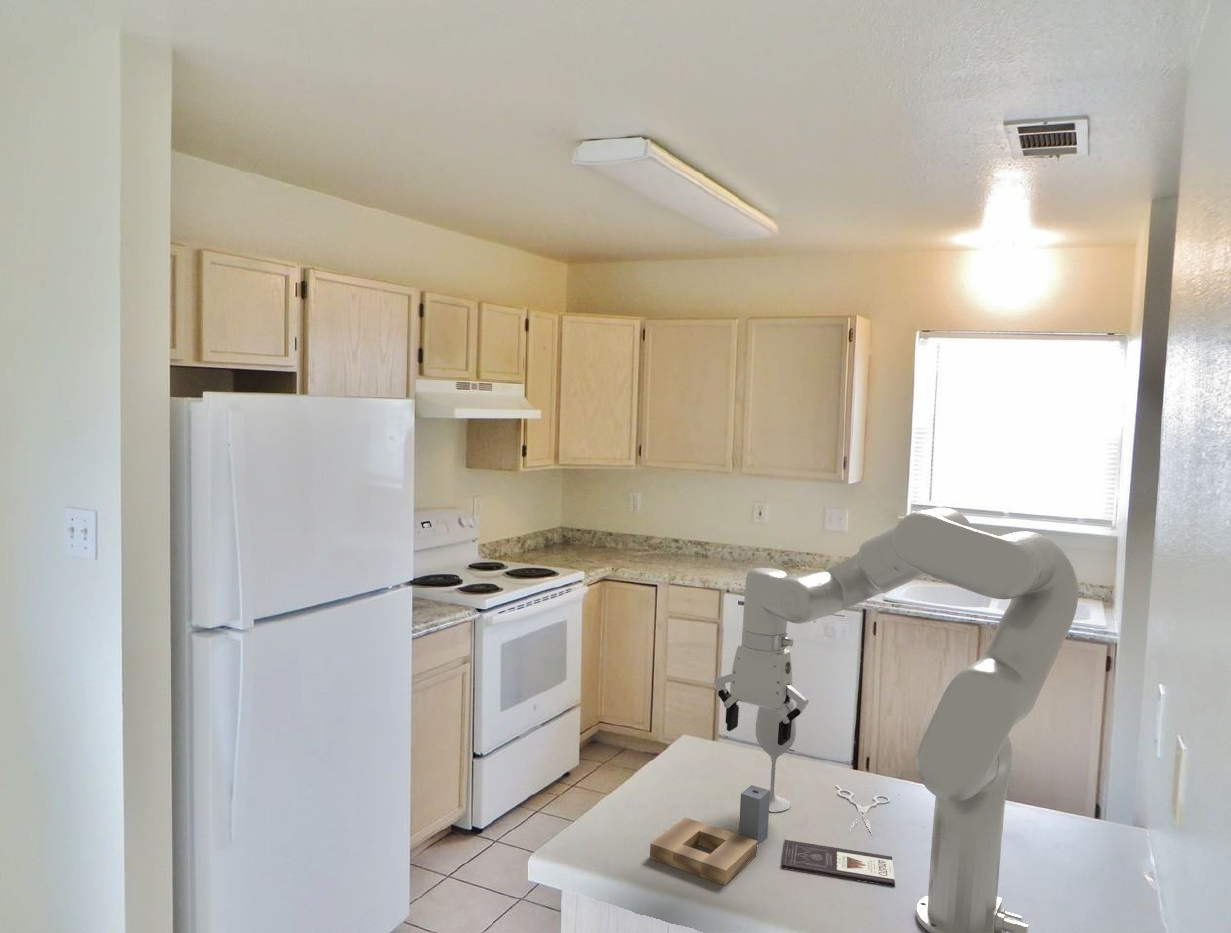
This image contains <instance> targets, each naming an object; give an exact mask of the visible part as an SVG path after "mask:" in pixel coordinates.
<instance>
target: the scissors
mask: <svg viewBox="0 0 1231 933" xmlns="http://www.w3.org/2000/svg"><path fill="white" fill-rule="evenodd" d="M834 787H835V788H836V789H837V791H836V794H837V796H839V798H843V799H845V800H847V801H848V802H849V803H851V804H853V805H854V806H856V809H858V810H857V812H858V813H859V812H861V813H862V814H864V815H865V814H868V812H869V811H870V809H871V808H875V807H877V805H886V804H889V803H891V799H890V797H888V796H887V795H883V794H878V795H875V796H873V797H872V800H873V801H874V803H872V804H870V805H864V806H862V805H860V804H858V803H857V802H855V801H854V800H853V799H852V798H854V797H855V794H854V793H853V792H852V791H850V790H848V789H843V788H841V787H840V786H839V784H834ZM843 792H844V793H847V794H849V795H844V794H842V793H843ZM879 798H884V799H886V801H881V800H880V801H879V800H878V799H879ZM867 811H868V812H867ZM864 815H863V816H864ZM861 819H862V818H861ZM856 820H857V819H856ZM861 821H863V819H862V820H861ZM864 821H865V820H864ZM864 821H863V822H864ZM867 821H868V822H867ZM866 822H867V823H866ZM866 822H865V823H866V825H865V826H867V827H868V828H867V827H866V828H867V830H868V829H869V830H868V831H870V830H871V825H870V820H869V818H868V819H867V820H866ZM854 823H855V822H854V821H853V822H852V824H853V825H852V824H851V827H850V828H849V831H850V830H851V828H852V826H853V827H854ZM856 823H857V822H856ZM865 823H864V824H865ZM854 828H855V827H854ZM851 831H852V830H851ZM870 832H871V833H870ZM870 832H869V833H870V834H871V835H870V836H873V833H872V830H871V831H870Z"/></svg>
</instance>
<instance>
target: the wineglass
mask: <svg viewBox="0 0 1231 933" xmlns="http://www.w3.org/2000/svg"><path fill="white" fill-rule="evenodd" d="M788 705H789V706H790V708H791V710H792V711H793V710H794V709H795V701H794V700H793V699H792V700H791V702H790V703H789V704H788ZM755 721H756V722H755V738H756V741H757V743H758V744H759V745H760V747H761V749H762V750H763V751H765V753H766V754H767V755H768V756H769V757H770V760H771V770H770V771H771V772H770V789H769V790H770V802H769V809H770V810H775V811H778V810H779V811H781V810H785V809H788V810H790V809H791V802H790V801H789V800H788V799H786V798H785V797H781V796H779V795H776V794H775V780H776V778H775V777H776V765H777V764H776V762H777V761H778V760H777V759H778V757H780V756H782V755H783V754H784V753H785V754H786V752H787V751H788V750H789V749H790V748H791V747H792V746H793V745H794V742H795V740H796V736H797V723H796V722H797V721H796V718H794V719H793V720H792V726H791V737H790V739H789V740H788V741H787V742H786V743H785V744H783V745H782V746H781V745H779V744H778V730H779V723H780V722H781V721H782V719H781V718H780V716H779V715H778V713H777V711H776V710H773V709H768V708H764V707H760V706H758V709H757V714H756V720H755ZM789 808H790V809H789Z"/></svg>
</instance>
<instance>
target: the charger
mask: <svg viewBox="0 0 1231 933" xmlns="http://www.w3.org/2000/svg"><path fill="white" fill-rule="evenodd" d="M739 801H740V802H739V804H740V805H739V819H738V820H739V821H738V835H741V836H744V837H747V838H750V839H753V840H756V841H758V844H757V845H759V844H760V843H761V844H762V843H763V842H764V841H765V840H766V839H768V834H769V816H770V812H769V802H770V789H766V788H762V787H759V786H755V785H753V784H750V786H748V787H747V788H746V789H745V790H743V791H742V792H741V793H740V800H739ZM759 846H760V845H759Z"/></svg>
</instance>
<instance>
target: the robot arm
mask: <svg viewBox="0 0 1231 933" xmlns="http://www.w3.org/2000/svg"><path fill="white" fill-rule="evenodd" d="M858 549H859V550H858V552H857V553H855V554H854V555H853V556H850V557H849V558H846V559H845V560H843V561H841V562H839V563H836V564H834V565H832V566H830V567H828V568H826V569H824V570H821V571H818V572H813V573H810V574H805V575H802V576H794V577H790V576H789V575H788V573H786V571H784V570H781V569H777V568H771V567H756V568H752V569H750V570H749V571H748V572H747V573H746V577H745V588H744V600H743V601H744V604H743V617H742V618H743V619H742V629H741V630H742V632H741V633H742V634H741V642H740V643H738V645H737V648H736V652H735V655H734V658H733V662H732V663H733V665H732V669H731V673H729V674H726V675H723V676H722V675H721V676H720V677H718V678H715V679H714V686H715V688H716V690H717V694H718V696H719V698H720V699H721V701H722V702H723V707H724V709H726V710H725V724H726V731H727V732H733V730H735V729H736V728H737V727H738V726H739V711H740V707H739V704H737V703H738V702H742V703H745V704H750V705H753V706H757V707H759V706H760V707H764V708H768V709H773V710H776V711H777V713H778V715H779V716H780V718H781V719H782V721H781V722H780V723H779V730H778V744H779V745H781V746H782V745H783V744H785V743H786V742H787V741H788V740H789V739H790V737H791V726H792V720H793V719H794V718H795V719H796V718H797V717H799V716H800V715H801V714H802V713H803V712H804V710H805V709H806V707H807V706H808V704H809V699H808V698H807V697H806V696H804V695H803V694H802V693H800V692H799V690H797V689H796V688H795V687H793V666H792V658H791V657H792V656H791V651H790V650H789V649H786V648H788V647H790V648H792V647H793V646H794V645H793V644H794V639H793V638H789V637H788V632H787V629H788V627H787V626H788V623H789V622H790V623H793V624H796V625H797V624H798V625H799V624H800V625H803V624H807V623H810V622H813V621H815V620H816V621H817V620H818V619H822V618H825V617H828V616H832V615H835V614H838V613H839V612H841V611H844V610H846V609H849V608H850V607H853V606H855V605H857V604H860V603H863V602H865V601H867V600H870V599H872V598H873V597H876V596H877V595H881V594H886V593H888V592H890V591H892V590H895V589H897V588H899V587H902V586H904V585H906V584H908V583H910V582H913V581H914V580H918V579H920V578H922V577H924V576H929V577H932V578H934V579H937V580H940V581H942V582H945V583H948V584H951V585H953V586H956V587H959V588H962V589H965V590H966V591H969V592H973V593H975V594H978V595H981V596H984V597H987V598H990V599H996V600H1010V602H1009V604H1008V606H1007V608H1006V610H1005V611H1004V613H1003V615H1002V617H1001V618H1000V620H999V622H998V623H997V626H996V628H995V631H994V634H992V637H991V639H990V641H989V643H988V645H987V647H986V649H985V650H984V652H983V653H982V655H981V657H980V658H978V660H977V661H974V663H972V664H970V665H969V666H967V667H965V668H964V669H962V670H960V671H959V672H958V673H956V675H955V676H954V677H953V678H952V680H950V682H949V684H948V685H947V687H946V689H945V690H944V692H943V694H942V695H941V698H940V701H939V703H938V704H937V706H936V708H935V711H934V713H933V715H932V717H931V720H929V723H928V726H927V727H926V729H925V732H924V733H923V736H922V738H921V740H920V743H919V746H918V749H917V751H916V752H917V753H916V759H915V760H916V770H917V773H918V776H919V779H920V781H921V783H922V784H923V786H924V787H925V788H926V789H927V790H928V791H929V793H931V794H932V795H934V796H935V799H934V812H933V822H932V823H933V824H932V835H931V849H930V863H929V874H928V875H929V877H928V878H929V879H928V891H927V895H926V896H924V897H923V898H921V899H920V900H919V901H918V902H917V904H916V906H915V907H916V908H915V917H916V919H917V921H918V922H919V924H920V925H921V926H922V928H923V929H924V930H925V931H927V932H928V933H1029V924H1026V923H1024V922H1022V921H1023V916H1022V915H1020V914H1017V913H1014V912H1010V911H1006V909H1005V908H1003V907H1002V901H1003V900H1002V897H999V896H998V894H999V892H998V891H999V876H1000V866H1001V864H1000V863H1001V855H1002V854H1001V851H1002V841H1003V839H1002V838H1003V830H1004V818H1005V807H1006V799H1007V793H1008V787H1009V783H1010V778H1011V772H1012V768H1013V767H1012V766H1013V747H1012V744H1011V743H1012V742H1011V739H1010V738H1009V737H1010V736H1009V735H1010V733H1011V731H1012V729H1013V728H1014V727H1015V726H1016V725H1017V724H1019V723H1020V722H1021V721H1023V720H1024V719H1025V718H1027V716H1028V715H1029V714H1030V713H1031V711H1033V709H1034V706H1035V705H1036V702H1037V700H1038V697H1039V695H1040V693H1041V691H1042V688H1043V687H1044V685H1045V682H1046V680H1047V678H1048V676H1049V674H1050V672H1051V670H1052V668H1053V667H1054V664H1055V662H1056V659H1057V657H1058V655H1059V652H1060V650H1061V648H1062V646H1063V644H1064V643H1065V642H1064V641H1065V640H1066V637H1067V636H1068V634H1069V631H1070V629H1071V627H1072V624H1073V622H1074V619H1075V616H1076V613H1077V608H1078V602H1079V584H1078V578H1077V575H1076V571H1075V570H1074V567H1073V565H1072V563H1071V561H1070V559H1069V557H1068V556H1067V554H1065V552H1064V550H1062V549H1061V547H1060V546H1059V545H1057V544H1056V542H1054V541H1053V540H1052V539H1050V538H1048V537H1047V536H1046V535H1043V534H1040V533H1038V532H1033V531H1027V530H1026V531H1016V532H1011V533H1007V534H1003V535H1000V536H999V535H995V534H992V533H988V532H985V531H982V530H979V529H975V528H973V527H972V525H971V523H970V522H969V520H968V519H967V517H965V515H964V514H962V513H961V512H959V511H958V510H955V509H952V508H949V507H934V508H931V509H930V508H929V509H923V510H918V511H914V512H911V513H909V514H907V515H906V516H904V517H903V518H902V519H901V520H900V521H899V522H898V523H897V525H896V526H895V527H893V528H891V529H889V530H887V531H884V532H882V533H880V534H877V535H876V536H874V537H871V538H869V539H867V540H865V541H864V542H863V543H861V544H860V546H859V548H858ZM728 683H730V688H729V690H730V691H729V690H728V689H727V687H726V684H728ZM792 699H793V701H794V703H796V705H795V706H794V708H795V709H794V710H793V711H792V710H791V708H790V706H789V705H788V704H789V703H790V702H791V700H792Z"/></svg>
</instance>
